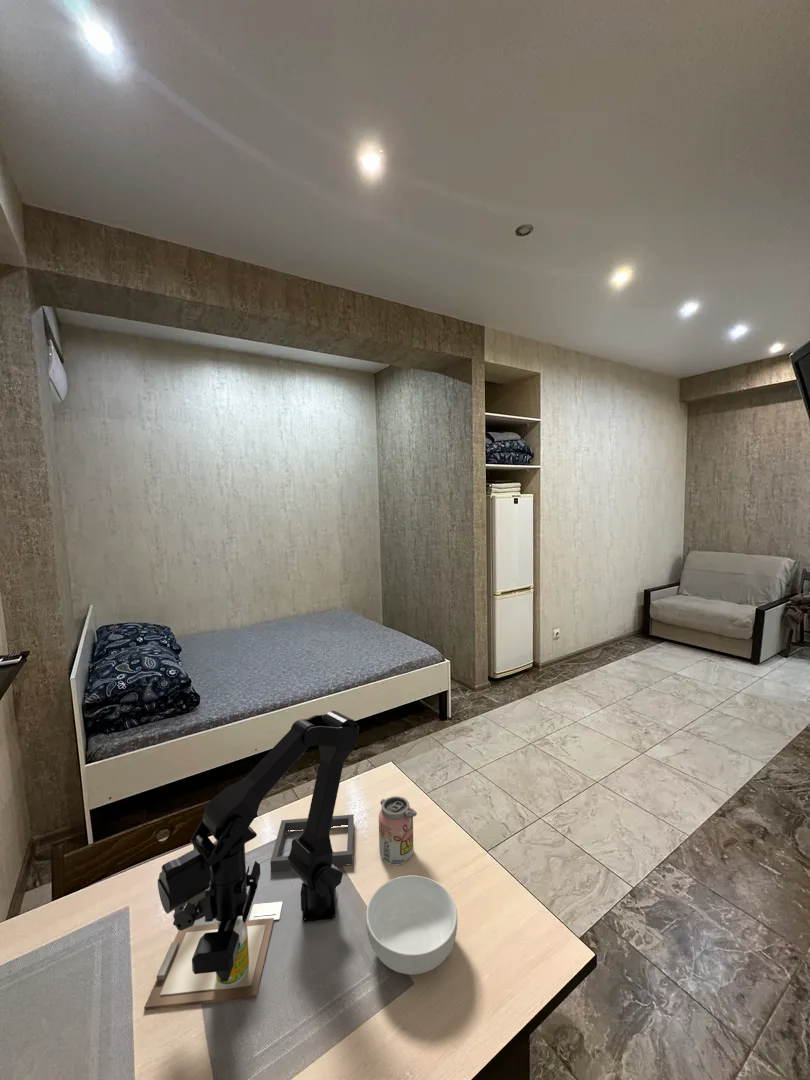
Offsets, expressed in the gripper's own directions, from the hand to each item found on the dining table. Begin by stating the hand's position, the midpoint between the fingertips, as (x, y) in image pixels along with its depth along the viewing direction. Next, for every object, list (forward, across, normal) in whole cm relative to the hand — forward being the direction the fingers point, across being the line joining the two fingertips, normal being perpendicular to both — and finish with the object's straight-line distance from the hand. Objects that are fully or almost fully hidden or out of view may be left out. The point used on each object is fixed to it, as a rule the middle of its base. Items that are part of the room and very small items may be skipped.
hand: (232, 955), depth 77 cm
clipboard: (+4, -3, -4) cm, 6 cm away
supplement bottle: (+3, 0, 0) cm, 3 cm away
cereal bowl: (+4, -2, +32) cm, 32 cm away
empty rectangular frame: (+4, -29, +11) cm, 31 cm away
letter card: (+4, -12, +3) cm, 13 cm away
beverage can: (+4, -25, +31) cm, 40 cm away
